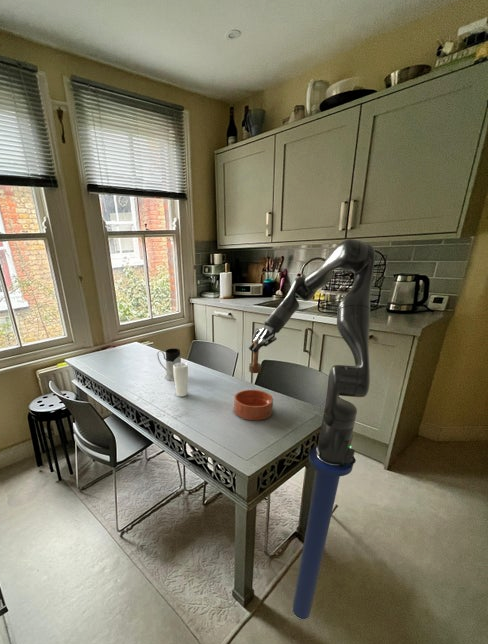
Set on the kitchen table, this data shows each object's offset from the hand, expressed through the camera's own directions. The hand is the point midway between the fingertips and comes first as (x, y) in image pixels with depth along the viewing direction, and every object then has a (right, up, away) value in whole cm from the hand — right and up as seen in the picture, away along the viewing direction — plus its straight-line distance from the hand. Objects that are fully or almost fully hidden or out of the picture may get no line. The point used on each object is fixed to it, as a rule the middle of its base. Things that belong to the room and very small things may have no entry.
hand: (251, 350), depth 136 cm
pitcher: (-37, -11, +34) cm, 52 cm away
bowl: (0, -26, -3) cm, 26 cm away
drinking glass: (-31, -20, +14) cm, 39 cm away
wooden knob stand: (+2, -9, +5) cm, 10 cm away
